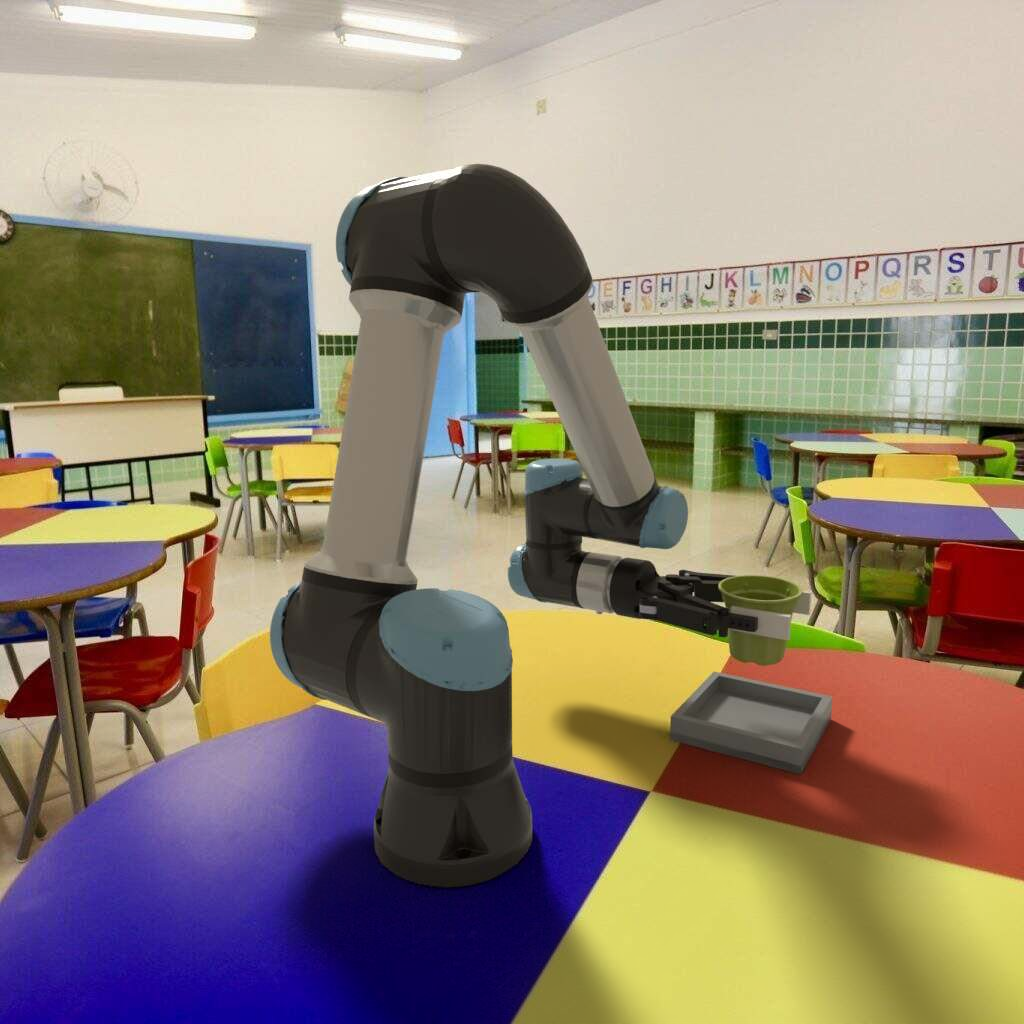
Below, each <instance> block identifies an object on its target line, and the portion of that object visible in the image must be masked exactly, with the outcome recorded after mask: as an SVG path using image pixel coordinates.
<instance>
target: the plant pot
mask: <svg viewBox="0 0 1024 1024" xmlns="http://www.w3.org/2000/svg"><path fill="white" fill-rule="evenodd" d="M718 587H719V590H720V592H721V593H722V598H723V601H724V602H723V603H724V607H725V608H728V609H729V612H730V611H731V607H732V606H739V607H745V608H751V609H757V610H763V611H769V612H775V613H782V614H788V615H791V620H792V618H793V614H794V613H793V610H794V608H795V607H796V605H797V601H798V598H800V597H801V596H802V593H803V590H804V589H803V588H802V587H801V585H799V584H798V583H796V582H794V581H792V580H788V579H785V578H782V577H777V576H770V575H761V574H747V575H746V574H744V575H743V574H742V575H734V577H729V578H726V579H724V580H722V581H721V582H720V583H719V585H718ZM727 637H728V647H729V653H730V656H731V657H732V658H733V659H735V660H736V661H737V662H740V663H744V664H747V663H753V664H756V665H758V666H763V667H765V666H771V665H772V666H773V665H776V664H779V663H781V662H782V660H783V659H784V656H785V653H786V647H787V642H788V640H783V639H777V638H771V637H766V636H760V635H755V634H749V633H744V632H738V631H733V630H730V628H728V636H727Z"/></svg>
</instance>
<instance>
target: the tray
mask: <svg viewBox="0 0 1024 1024" xmlns="http://www.w3.org/2000/svg"><path fill="white" fill-rule="evenodd" d="M832 711H833V695H832V696H831V695H826V694H822V693H818V692H817V693H816V692H813V691H807V690H802V689H799V688H794V687H793V688H792V687H789V686H785V685H780V684H779V685H778V684H774V683H769V682H765V681H760V680H755V679H751V678H746V677H742V676H738V675H734V674H733V675H732V674H728V673H723V672H718V671H713V672H712V673H711V674H710V675H709V676H708V677H707V678H706V679H705V680H704V681H703V682H702V683H701V684H700V685H699V686H698V687H697V688H696V689H695V691H694V692H692V693H691V695H689V697H687V699H685V701H684V702H683V703H682V704H681V705H680V706H679V707H678V708H677V709H676V710H675V711H674V712H673V713H672V714H671V715H670V727H669V728H670V729H669V735H670V736H669V740H670V741H674V742H678V743H681V744H684V745H689V746H692V747H696V748H700V749H704V750H708V751H711V752H715V753H719V754H722V755H726V756H729V757H734V758H737V759H741V760H744V761H749V762H753V763H756V764H761V765H764V766H766V767H771V768H775V769H778V770H782V771H783V770H784V771H787V772H791V773H794V774H797V775H802V773H803V772H804V769H805V767H806V765H807V764H808V763H809V760H810V759H811V757H812V754H813V753H814V751H815V749H816V748H817V745H818V744H819V742H820V740H821V738H822V736H823V735H824V733H825V732H826V729H827V727H828V726H829V724H830V723H831V720H832Z"/></svg>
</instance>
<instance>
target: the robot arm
mask: <svg viewBox="0 0 1024 1024" xmlns="http://www.w3.org/2000/svg"><path fill="white" fill-rule="evenodd" d="M335 251H336V253H335V254H336V260H337V262H338V263H340V264H341V266H342V269H341V271H340V272H341V273H342V276H343V277H344V279H345V280H346V282H347V284H349V286H350V291H349V296H348V300H349V302H350V304H351V305H352V307H353V309H354V310H355V311H356V312H357V314H358V315H359V319H360V323H359V329H358V334H357V340H356V347H355V353H354V359H353V364H352V371H351V376H350V382H349V383H350V384H349V388H348V394H347V400H346V407H345V413H344V419H343V423H342V425H343V426H342V429H341V430H342V431H341V437H340V442H339V447H338V453H337V459H336V461H337V462H336V467H335V470H334V471H335V472H334V478H333V485H332V490H331V497H330V502H329V508H328V513H327V514H328V515H327V520H326V526H325V532H324V537H323V545H322V548H321V549H320V551H319V552H318V553H316V554H315V555H313V556H312V557H311V558H309V559H308V560H306V561H305V562H304V565H303V569H302V571H303V572H302V576H301V581H299V582H297V583H295V584H294V585H293V586H291V587H290V588H289V589H288V590H287V594H286V595H285V596H283V597H281V598H280V600H279V601H278V602H277V604H276V606H275V609H274V611H273V614H272V617H271V622H270V628H269V629H270V630H269V643H270V650H271V653H272V657H273V660H274V662H275V664H276V667H277V668H278V669H279V671H280V672H281V674H282V675H283V676H284V677H285V678H286V679H287V680H288V681H289V682H291V683H293V684H294V685H295V686H296V687H298V688H301V689H302V690H303V691H305V692H306V693H308V694H309V695H310V696H313V697H314V698H319V699H321V700H323V701H329V702H331V703H333V704H337V705H338V706H341V707H343V708H347V709H349V710H351V711H354V712H355V713H358V714H361V715H364V716H366V717H369V718H371V719H374V720H377V721H378V722H381V723H384V725H385V727H386V737H387V738H386V740H387V749H388V750H387V751H388V752H387V753H388V770H387V774H386V777H385V780H384V783H383V784H384V785H383V788H382V791H381V794H380V798H379V801H378V804H377V805H378V806H377V809H376V812H375V815H374V819H373V820H374V821H373V839H374V841H373V842H374V850H375V854H376V857H377V856H378V857H377V859H378V858H379V859H378V860H379V862H380V863H381V865H382V866H383V865H384V866H385V867H386V868H388V869H389V870H390V871H392V872H393V873H394V874H395V875H394V874H393V873H392V874H393V875H394V876H396V875H397V876H396V877H398V876H399V877H398V878H400V877H401V878H400V879H402V878H404V879H406V880H405V881H407V880H409V881H411V882H410V883H412V881H413V882H416V883H418V884H417V885H420V884H424V885H423V886H425V885H431V886H430V887H432V886H437V887H436V888H458V887H465V886H466V887H467V886H472V885H477V884H480V883H484V882H487V881H490V880H493V879H495V878H497V877H499V876H501V875H503V874H504V873H503V872H505V871H507V870H508V869H510V868H511V867H512V866H514V865H515V864H516V865H518V864H519V863H518V862H519V861H520V860H521V858H522V857H523V858H524V857H525V856H526V855H525V854H527V853H528V851H529V850H528V849H530V848H529V847H531V846H532V845H531V844H532V841H533V814H532V809H531V805H530V803H529V801H528V798H527V796H526V795H525V792H524V789H523V786H522V781H521V780H520V777H519V774H518V771H517V768H516V766H515V762H514V758H513V755H514V753H513V677H512V676H513V672H512V671H513V662H514V661H513V660H514V659H513V651H512V647H511V640H510V629H509V626H508V622H507V620H506V619H507V618H506V617H505V616H504V614H503V613H502V611H501V610H500V609H499V608H498V607H497V606H496V605H495V604H494V603H492V602H491V601H489V600H487V599H485V598H484V597H481V596H479V595H476V594H473V593H470V592H467V591H462V590H459V589H451V588H449V589H447V590H441V589H439V588H436V587H435V588H433V587H432V588H431V587H430V588H417V587H418V580H419V579H418V578H417V576H416V574H415V573H414V572H413V571H412V569H411V568H410V566H409V563H408V561H407V558H408V553H409V546H410V539H411V534H412V527H413V521H414V518H415V517H414V515H415V511H416V510H415V509H416V505H417V504H416V503H417V498H418V491H419V487H420V479H421V475H422V473H421V472H422V469H423V468H422V466H423V463H424V462H423V461H424V456H425V450H426V442H427V438H428V430H429V425H430V419H431V414H432V408H433V407H432V406H433V401H434V395H435V388H436V383H437V378H438V371H439V365H440V359H441V353H442V347H443V340H444V336H445V335H446V334H447V333H448V332H449V331H451V330H453V329H454V328H455V327H456V326H458V325H459V324H461V321H462V316H463V312H464V311H463V310H464V303H465V297H466V294H471V293H483V294H485V295H486V296H488V297H489V298H490V299H492V300H493V301H494V302H495V304H496V305H497V308H498V310H499V312H500V313H501V317H502V318H503V320H504V321H505V322H506V323H507V324H509V325H511V326H513V327H518V330H519V332H520V333H521V336H522V339H523V340H524V342H525V345H526V347H527V349H528V352H529V353H530V356H531V357H532V360H533V362H534V364H535V367H536V369H537V371H538V373H539V375H540V378H541V380H542V382H543V384H544V386H545V389H546V390H547V393H548V395H549V397H550V400H551V401H552V404H553V406H554V408H555V411H556V413H557V415H558V419H560V422H561V424H562V427H563V428H564V430H565V433H566V435H567V438H568V439H569V441H570V444H571V446H572V448H573V450H574V452H575V455H576V457H577V459H578V461H577V460H573V459H571V458H557V457H556V458H543V459H537V460H534V461H531V462H530V463H529V464H527V466H526V468H525V473H524V475H525V477H524V478H525V480H524V483H525V484H524V493H523V497H524V515H525V537H526V539H525V543H522V544H520V545H518V546H517V547H516V548H514V550H513V551H512V554H511V555H510V558H509V562H510V564H509V566H508V568H507V580H508V583H509V586H510V588H511V590H512V591H513V592H514V593H515V594H516V595H517V596H519V597H523V598H526V599H531V600H535V601H537V602H540V603H544V604H545V603H548V604H549V603H550V604H555V605H562V606H568V607H574V608H579V609H585V610H589V611H590V610H591V611H595V614H597V615H603V613H606V614H615V615H617V616H619V617H625V618H626V617H627V618H631V619H637V620H647V621H648V620H650V621H655V622H656V621H658V622H661V623H665V624H668V625H672V626H675V627H679V628H683V629H687V630H689V631H694V632H697V633H701V634H705V635H708V636H716V635H717V634H718V635H717V636H718V638H727V637H728V628H730V630H733V631H738V632H744V633H749V634H755V635H760V636H766V637H771V638H777V639H783V640H787V641H789V640H790V639H791V629H792V628H791V626H792V623H791V622H792V619H791V615H788V614H782V613H775V612H769V611H763V610H757V609H751V608H745V607H739V606H732V607H731V611H730V612H729V609H728V608H725V606H722V605H720V604H717V603H724V601H723V598H722V593H721V592H720V590H719V587H718V585H719V583H720V582H721V581H722V580H724V579H726V578H729V577H734V576H735V575H733V574H732V575H731V574H723V573H722V574H720V573H709V572H698V571H691V570H688V569H680V570H678V574H673V573H669V574H668V573H667V574H666V575H659V573H658V571H657V568H656V566H655V564H654V563H653V562H652V561H650V560H647V559H639V558H633V557H624V558H623V557H622V556H620V555H615V554H614V555H613V554H608V553H607V554H606V553H600V552H592V551H591V552H590V551H585V550H582V543H583V538H587V539H593V540H601V541H605V542H611V543H616V544H622V545H628V546H632V547H633V546H634V547H638V548H641V549H645V548H647V549H658V550H669V549H672V548H674V547H675V546H677V545H678V544H679V542H680V541H682V537H683V536H684V534H685V531H686V529H687V526H688V519H689V508H688V502H687V499H686V496H685V494H684V493H683V492H681V491H680V490H679V489H676V488H672V487H669V486H668V485H664V486H660V485H659V483H658V481H657V478H656V475H655V473H654V471H653V468H652V466H651V462H650V461H649V457H648V456H647V455H648V454H647V452H646V449H645V447H644V444H643V441H642V438H641V436H640V434H639V433H640V432H639V431H638V428H637V426H636V422H635V420H634V417H633V414H632V412H631V410H630V406H629V403H628V401H627V399H626V396H625V393H624V390H623V388H622V385H621V382H620V379H619V377H618V374H617V371H616V369H615V366H614V363H613V361H612V358H611V356H610V353H609V349H608V347H607V345H606V342H605V340H604V339H605V338H604V337H603V334H602V332H601V329H600V326H599V322H598V320H597V317H596V315H595V312H594V309H593V307H592V305H591V300H590V299H589V294H590V292H591V291H592V288H593V284H594V280H593V277H592V274H591V271H590V268H589V266H588V263H587V260H586V258H585V255H584V252H583V250H582V248H581V246H580V245H579V243H578V241H577V239H576V237H575V236H574V234H573V232H572V230H571V229H570V228H569V226H568V225H567V223H566V222H565V220H564V219H563V218H562V216H561V215H560V214H559V212H558V211H557V209H555V207H554V206H553V205H552V204H551V203H550V201H549V200H547V198H546V197H545V196H544V195H543V194H542V193H541V192H540V191H539V190H537V189H536V188H535V187H534V186H532V185H531V184H530V183H529V182H528V181H527V180H525V179H524V178H523V177H521V176H518V175H517V174H515V173H513V172H511V171H509V170H507V169H505V168H503V167H500V166H495V165H492V164H487V163H486V164H485V163H471V164H465V165H461V166H457V167H455V168H449V169H445V170H440V171H434V172H430V173H423V174H421V175H420V174H419V175H416V176H410V177H408V176H399V177H393V178H388V179H385V180H383V181H380V182H379V183H377V184H374V185H370V186H367V187H366V188H364V189H362V190H361V191H360V192H358V193H357V194H355V195H354V196H353V197H352V198H351V199H350V201H349V202H348V203H347V205H346V206H345V208H344V209H343V212H342V214H341V216H340V218H339V221H338V225H337V228H336V234H335ZM582 470H583V472H584V475H585V477H586V478H584V477H583V476H584V475H583V472H582ZM802 590H803V593H802V596H801V597H800V598H798V601H797V605H796V607H795V608H794V610H793V614H794V613H795V614H799V615H805V616H809V615H810V614H811V606H812V605H811V603H812V591H810V590H804V589H802ZM526 852H527V853H526ZM524 855H525V856H524ZM523 858H522V859H523ZM521 861H522V860H521ZM516 865H515V866H516ZM384 866H383V867H384ZM515 866H514V867H515ZM385 867H384V868H385ZM386 868H385V869H386ZM388 869H387V870H388ZM511 869H512V868H511ZM511 869H510V870H511ZM389 870H388V871H389ZM390 871H389V872H390ZM508 871H509V870H508ZM508 871H507V872H508ZM502 873H503V874H502ZM505 873H506V872H505ZM500 874H501V875H500ZM498 875H499V876H498ZM404 879H403V880H404ZM409 881H408V882H409ZM416 883H415V884H416ZM441 886H443V887H441ZM453 886H454V887H453Z"/></svg>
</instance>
